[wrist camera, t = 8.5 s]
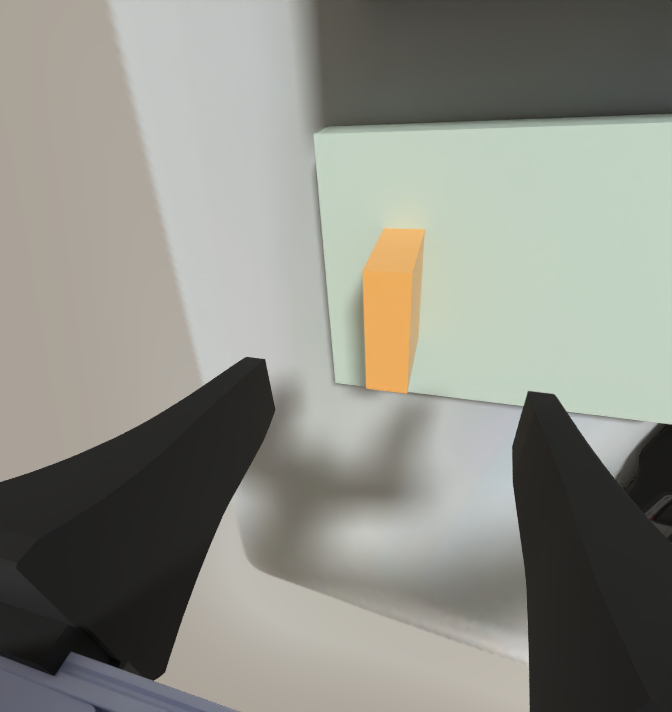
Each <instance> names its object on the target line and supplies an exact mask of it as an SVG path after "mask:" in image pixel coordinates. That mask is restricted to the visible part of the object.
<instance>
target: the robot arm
mask: <svg viewBox="0 0 672 712" xmlns="http://www.w3.org/2000/svg"><path fill="white" fill-rule="evenodd" d="M274 412H275V406H274V401H273V396H272V391H271V386H270V381H269V376H268V371H267V367H266V362H265V359H259V358H251V357H246V358H244V359H242V360H241V361H239V362H237V363H236V364H234V365H233V366H231V367H230V368H229V369H227V370H226V371H224V372H223V373H221V374H220V375H218V376H217V377H215V378H214V379H213V380H211V381H210V382H208V383H207V384H205V385H204V386H202V387H201V388H199V389H198V390H196V391H195V392H193V393H192V394H190V395H189V396H187V397H186V398H184V399H183V400H181V401H179V402H178V403H176V404H175V405H173V406H171V407H170V408H168V409H166V410H165V411H164V412H162V413H160V414H158V415H157V416H155V417H153V418H152V419H150V420H148V421H146V422H144V423H143V424H141V425H139V426H137V427H135V428H133V429H131V430H129V431H127V432H125V433H124V434H122V435H120V436H118V437H116V438H114V439H111V440H109V441H107V442H105V443H102V444H100V445H98V446H96V447H94V448H92V449H89V450H87V451H85V452H82V453H80V454H78V455H75V456H73V457H71V458H68V459H65V460H63V461H60V462H58V463H55V464H53V465H50V466H47V467H44V468H42V469H39V470H36V471H33V472H30V473H28V474H24V475H22V476H19V477H15V478H12V479H9V480H6V481H3V482H0V712H239V711H236V710H234V709H231V708H228V707H225V706H222V705H220V704H217V703H214V702H211V701H208V700H206V699H203V698H200V697H197V696H194V695H191V694H188V693H186V692H183V691H180V690H177V689H175V688H172V687H169V686H166V685H163V684H160V683H158V682H155V681H154V680H155V679H157V678H159V677H160V676H161V675H163V673H165V671H166V668H167V664H168V661H169V658H170V655H171V652H172V648H173V645H174V643H175V640H176V636H177V633H178V630H179V627H180V624H181V621H182V618H183V615H184V613H185V610H186V607H187V604H188V601H189V599H190V596H191V593H192V590H193V588H194V585H195V582H196V580H197V577H198V575H199V572H200V570H201V567H202V565H203V562H204V559H205V557H206V554H207V552H208V549H209V547H210V544H211V542H212V539H213V537H214V535H215V533H216V530H217V528H218V526H219V523H220V521H221V519H222V516H223V514H224V512H225V510H226V508H227V506H228V504H229V502H230V501H231V499H232V497H233V495H234V493H235V492H236V490H237V488H238V486H239V484H240V483H241V481H242V479H243V477H244V475H245V474H246V472H247V470H248V468H249V466H250V465H251V463H252V461H253V459H254V457H255V455H256V454H257V452H258V450H259V448H260V446H261V444H262V442H263V440H264V438H265V436H266V433H267V431H268V428H269V426H270V423H271V420H272V418H273V415H274ZM512 461H513V487H514V495H515V502H516V509H517V517H518V524H519V531H520V538H521V545H522V552H523V559H524V566H525V576H526V587H527V611H528V641H529V683H530V685H529V686H530V687H529V688H530V712H672V543H671V542H670V541H669V540H668V539H667V538H666V537H665V536H664V535H663V534H662V533H661V531H660V530H659V529H658V528H657V527H656V526H655V525H654V524H653V523H652V522H651V521H650V520H649V519H648V518H647V517H646V515H645V514H644V513H643V512H642V511H641V510H640V509H639V507H638V506H637V505H636V504H635V503H634V502H633V501H632V499H631V498H630V497H629V496H628V495H627V493H626V492H625V491H624V490H623V488H622V487H621V486H620V485H619V484H618V482H617V481H616V480H615V479H614V477H613V476H612V475H611V474H610V472H609V471H608V470H607V468H606V467H605V466H604V464H603V463H602V462H601V460H600V459H599V458H598V456H597V455H596V454H595V452H594V451H593V450H592V448H591V447H590V445H589V444H588V443H587V441H586V440H585V438H584V437H583V436H582V434H581V433H580V431H579V430H578V428H577V427H576V425H575V424H574V422H573V421H572V419H571V418H570V416H569V415H568V413H567V412H566V410H565V408H564V407H563V405H562V404H561V402H560V401H559V399H558V398H557V396H556V395H555V394H550V393H542V392H534V391H528V392H527V396H526V399H525V403H524V407H523V410H522V414H521V417H520V421H519V424H518V428H517V432H516V435H515V439H514V442H513V446H512Z"/></svg>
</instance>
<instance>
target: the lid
mask: <svg viewBox="0 0 672 712" xmlns="http://www.w3.org/2000/svg"><path fill="white" fill-rule="evenodd" d="M313 136H314V147H315V158H316V170H317V181H318V192H319V203H320V215H321V226H322V237H323V249H324V260H325V271H326V282H327V294H328V305H329V316H330V328H331V339H332V350H333V361H334V373H335V383H340V384H348V385H356V386H364V387H366V389H373V390H381V391H389V392H397V393H405V394H407V392H413V393H421V394H429V395H437V396H445V397H453V398H461V399H470V400H478V401H486V402H494V403H502V404H510V405H518V406H524V403H525V399H526V396H527V392H528V391H534V392H542V393H550V394H555V395H556V396H557V398H558V399H559V401H560V402H561V404H562V405H563V407H564V408H565V410H566V411H567V412H575V413H583V414H591V415H599V416H607V417H615V418H623V419H631V420H640V421H648V422H656V423H664V424H672V114H645V115H619V116H593V117H566V118H540V119H514V120H487V121H461V122H435V123H408V124H382V125H356V126H330V127H326V128H324V129H322V130H320V131H318V132H317V133H315V134H313Z"/></svg>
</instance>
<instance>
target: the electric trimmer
mask: <svg viewBox="0 0 672 712" xmlns="http://www.w3.org/2000/svg"><path fill="white" fill-rule="evenodd" d="M625 492H626V493H627V495H628V496H629V497H630V498H631V499H632V501H633V502H634V503H635V504H636V505H637V506H638V507H639V509H640V510H641V511H642V512H643V513H644V514H645V515H646V517H647V518H648V519H649V520H650V521H651V522H652V523H653V524H654V525H655V526H656V527H657V528H658V529H659V530H660V531H661V533H662V534H663V535H664V536H665V537H666V538H667V539H668V540H669V541H670V542H671V543H672V424H669V425H668V426H667V427H666V428H665V429H663V430H662V431H661V432H660V433H659V434H658V435H657V436H656V437H655V438H654V439H653V440H652V441H651V442H650V443H649V444H648V445H647V446H646V447H645V448H643V450H642V452H641V453H640V455H639V473H638V476H637V477H636V478H635V480H634V481H633V482H632V483H631V484H630V485H629V486H628V487H627V489H626V490H625Z"/></svg>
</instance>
